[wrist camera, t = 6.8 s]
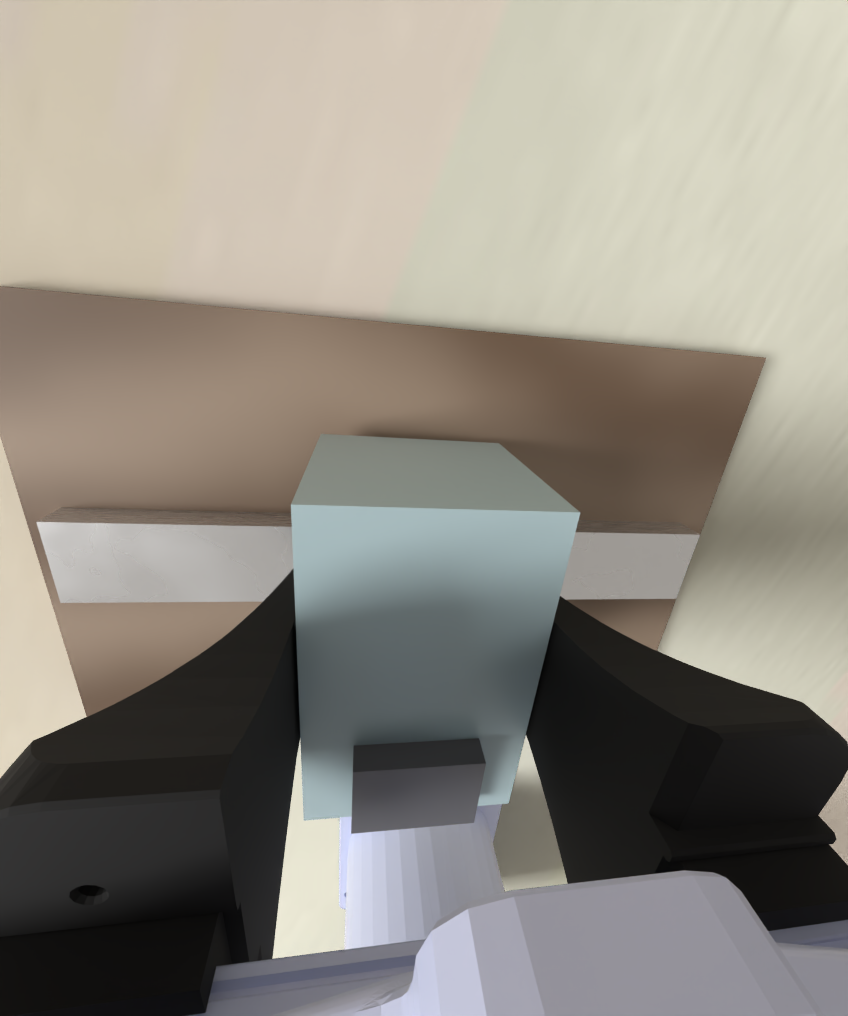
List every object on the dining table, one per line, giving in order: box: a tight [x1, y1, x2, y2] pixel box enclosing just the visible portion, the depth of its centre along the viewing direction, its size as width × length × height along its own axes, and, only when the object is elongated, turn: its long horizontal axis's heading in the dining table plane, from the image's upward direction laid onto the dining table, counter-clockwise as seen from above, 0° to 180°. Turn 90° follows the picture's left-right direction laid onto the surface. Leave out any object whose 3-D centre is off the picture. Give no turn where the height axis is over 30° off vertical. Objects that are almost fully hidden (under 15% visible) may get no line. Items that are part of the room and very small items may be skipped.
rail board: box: [0, 286, 766, 717], centre depth 14 cm, size 14×22×2 cm, turn 85°
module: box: [291, 434, 580, 834], centre depth 11 cm, size 8×5×6 cm, turn 175°
